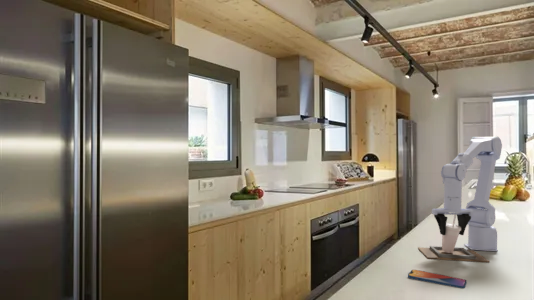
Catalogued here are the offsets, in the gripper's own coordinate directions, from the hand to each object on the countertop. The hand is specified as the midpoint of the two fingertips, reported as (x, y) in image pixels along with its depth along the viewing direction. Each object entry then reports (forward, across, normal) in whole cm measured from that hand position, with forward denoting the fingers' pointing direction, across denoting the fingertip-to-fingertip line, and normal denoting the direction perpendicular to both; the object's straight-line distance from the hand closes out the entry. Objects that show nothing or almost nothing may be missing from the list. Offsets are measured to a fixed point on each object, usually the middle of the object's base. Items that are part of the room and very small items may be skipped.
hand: (451, 234), depth 138 cm
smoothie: (+6, +1, -1) cm, 7 cm away
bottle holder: (+7, 0, 0) cm, 7 cm away
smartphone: (+8, +19, +26) cm, 33 cm away
